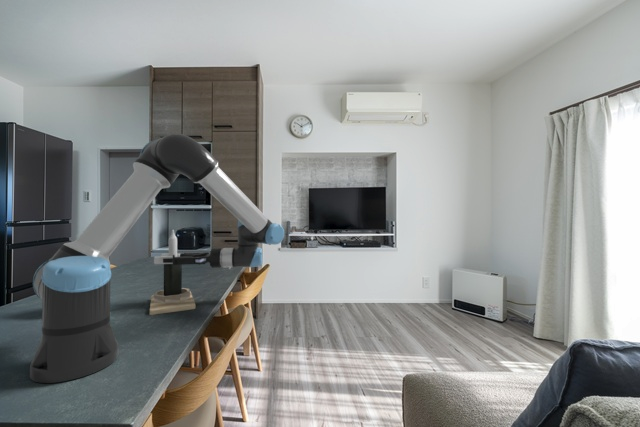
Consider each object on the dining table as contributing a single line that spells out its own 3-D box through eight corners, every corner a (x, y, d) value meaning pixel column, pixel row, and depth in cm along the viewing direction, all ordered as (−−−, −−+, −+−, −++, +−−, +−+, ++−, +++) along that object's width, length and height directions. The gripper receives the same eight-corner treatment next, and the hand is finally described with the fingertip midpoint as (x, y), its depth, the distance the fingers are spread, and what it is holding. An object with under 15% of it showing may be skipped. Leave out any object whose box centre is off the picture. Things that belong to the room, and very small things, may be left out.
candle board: (195, 308, 104) (195, 297, 104) (149, 315, 97) (149, 303, 97) (190, 295, 121) (190, 285, 121) (151, 299, 114) (151, 289, 114)
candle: (182, 294, 112) (183, 229, 112) (170, 298, 107) (170, 230, 107) (175, 292, 114) (175, 229, 114) (162, 296, 110) (162, 229, 110)
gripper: (216, 272, 104) (147, 274, 101) (226, 263, 123) (167, 264, 120) (216, 251, 104) (147, 252, 101) (226, 245, 123) (167, 246, 120)
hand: (158, 258), depth 110 cm, fingers closed on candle, 6 cm apart
